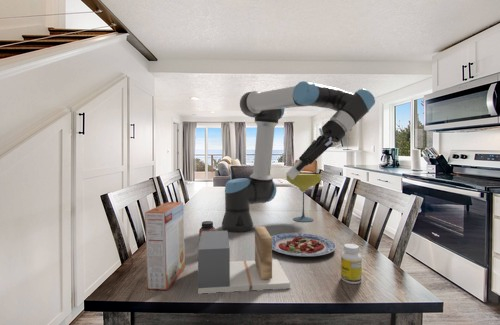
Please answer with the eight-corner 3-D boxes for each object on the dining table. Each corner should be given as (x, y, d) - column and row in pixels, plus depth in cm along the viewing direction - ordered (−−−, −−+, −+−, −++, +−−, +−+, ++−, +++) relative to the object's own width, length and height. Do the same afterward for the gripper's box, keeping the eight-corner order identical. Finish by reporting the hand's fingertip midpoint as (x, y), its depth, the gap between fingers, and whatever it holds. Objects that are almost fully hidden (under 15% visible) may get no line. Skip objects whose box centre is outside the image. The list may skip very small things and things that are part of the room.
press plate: (264, 260, 85) (264, 226, 85) (272, 278, 73) (272, 238, 73) (254, 261, 85) (254, 226, 84) (261, 279, 73) (261, 238, 72)
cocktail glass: (320, 216, 153) (320, 172, 152) (321, 224, 135) (321, 175, 135) (287, 215, 157) (288, 172, 156) (284, 222, 139) (284, 174, 139)
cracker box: (166, 267, 85) (166, 201, 84) (185, 268, 84) (184, 201, 84) (145, 290, 71) (144, 211, 70) (167, 291, 70) (166, 211, 70)
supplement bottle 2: (337, 276, 79) (338, 242, 79) (355, 275, 80) (356, 242, 79) (346, 285, 74) (346, 249, 73) (365, 284, 74) (365, 248, 74)
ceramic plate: (293, 234, 121) (293, 227, 121) (348, 248, 103) (348, 240, 102) (252, 248, 103) (252, 240, 103) (310, 269, 85) (310, 259, 84)
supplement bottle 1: (218, 251, 99) (218, 220, 99) (211, 257, 93) (211, 224, 93) (204, 249, 101) (204, 219, 101) (196, 255, 95) (195, 223, 95)
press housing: (277, 263, 88) (277, 228, 87) (290, 288, 72) (290, 245, 71) (201, 267, 85) (201, 231, 84) (198, 294, 69) (198, 249, 69)
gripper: (354, 133, 86) (303, 186, 85) (336, 136, 99) (291, 182, 98) (338, 116, 85) (286, 170, 84) (322, 121, 98) (277, 167, 97)
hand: (289, 176), depth 91 cm, fingers closed
